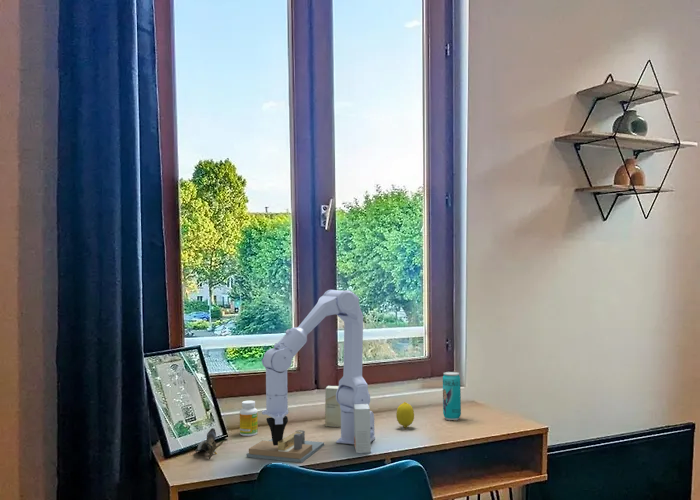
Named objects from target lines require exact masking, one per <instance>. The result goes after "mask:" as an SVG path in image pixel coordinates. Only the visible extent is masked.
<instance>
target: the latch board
mask: <svg viewBox="0 0 700 500" xmlns="http://www.w3.org/2000/svg"><path fill="white" fill-rule="evenodd" d="M324 446H325V442H323V441H312V440H305V444H302V434H299V433H296V434H295V435H294V445H293V446H291V447H289V448H288V449H286V450H278V445H275V446H274V445H273V441H272V438H270V439H269V440H261V441H260V442H258V443H256V444H255V445H253V446H251V447H249V448H248V452H247V453H246V458H253V459H260V460H261V459H264V460H272V461H273V460H274V461H284V462H290V463H291V462H293V463H304V461H306V460H307V459H308V458H310V457H311V456H312V455H313V454H315V453H316V452H317V451H319V450H320V449H322V448H323V447H324Z"/></svg>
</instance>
